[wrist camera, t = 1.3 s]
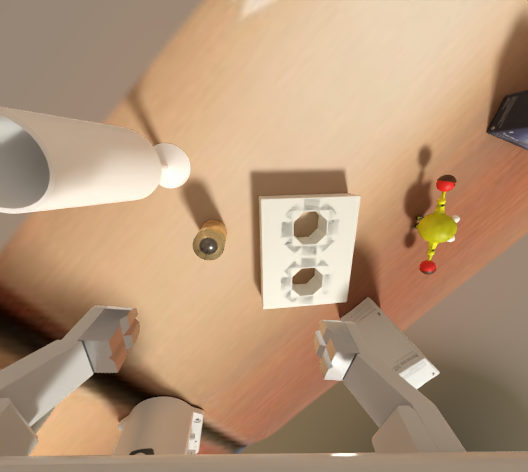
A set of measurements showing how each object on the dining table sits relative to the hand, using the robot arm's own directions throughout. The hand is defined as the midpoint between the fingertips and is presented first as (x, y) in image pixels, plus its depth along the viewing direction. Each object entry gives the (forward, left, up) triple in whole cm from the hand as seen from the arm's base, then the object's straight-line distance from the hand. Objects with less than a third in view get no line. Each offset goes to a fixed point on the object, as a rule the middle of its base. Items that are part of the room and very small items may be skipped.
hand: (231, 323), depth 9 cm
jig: (-8, -12, -28) cm, 31 cm away
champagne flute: (+7, +10, -28) cm, 30 cm away
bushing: (-4, +4, -28) cm, 28 cm away
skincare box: (-25, -26, -28) cm, 45 cm away
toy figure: (-4, -35, -28) cm, 45 cm away
